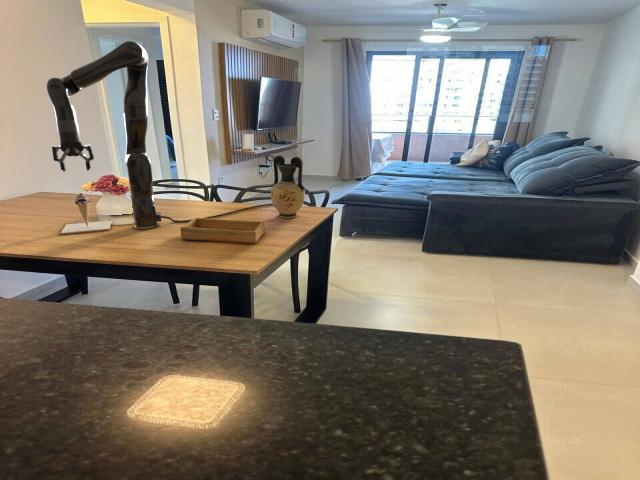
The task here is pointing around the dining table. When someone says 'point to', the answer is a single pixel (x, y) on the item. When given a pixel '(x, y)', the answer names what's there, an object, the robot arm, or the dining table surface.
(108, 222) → the white flat slab
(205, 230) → the tray
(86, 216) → the ice cream cone
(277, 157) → the amphora
